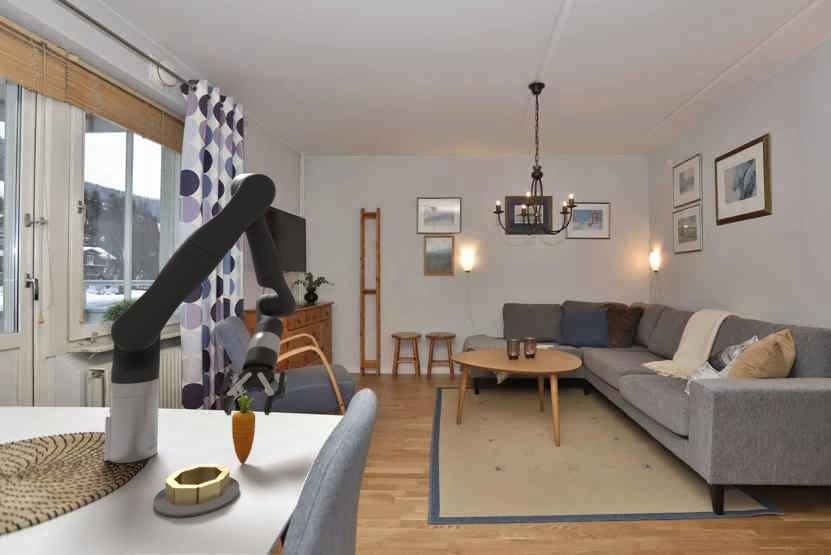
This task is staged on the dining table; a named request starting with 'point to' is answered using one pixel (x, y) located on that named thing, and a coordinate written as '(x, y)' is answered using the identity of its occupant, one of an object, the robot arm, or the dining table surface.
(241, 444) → the carrot
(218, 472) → the hub socket
